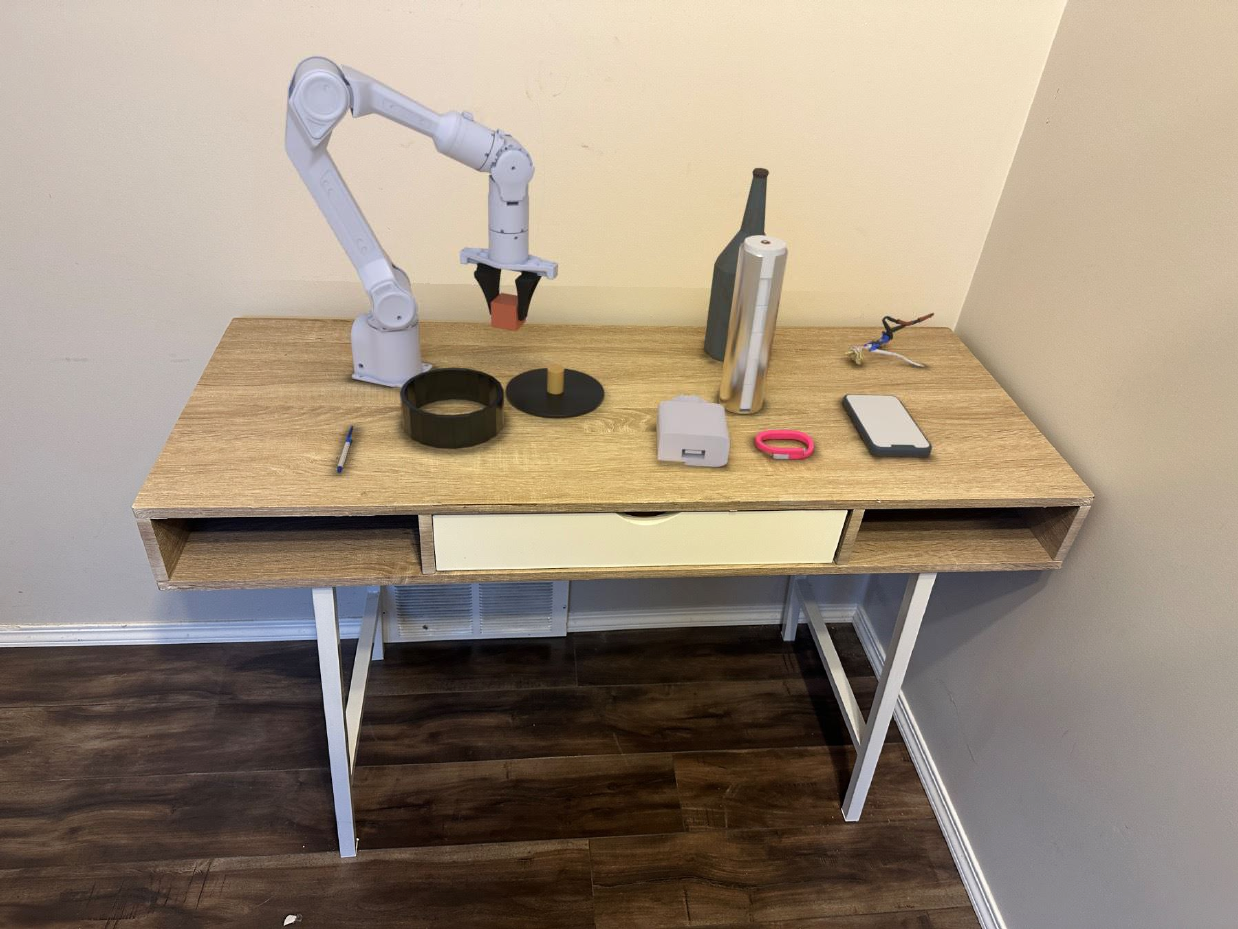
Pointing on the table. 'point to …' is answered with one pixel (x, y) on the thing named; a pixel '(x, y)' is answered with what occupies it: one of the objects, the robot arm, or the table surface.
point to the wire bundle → (885, 340)
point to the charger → (692, 431)
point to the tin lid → (554, 392)
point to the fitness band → (785, 452)
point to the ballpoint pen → (345, 450)
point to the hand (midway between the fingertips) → (508, 315)
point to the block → (505, 312)
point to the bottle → (733, 267)
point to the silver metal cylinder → (752, 323)
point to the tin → (452, 427)
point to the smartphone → (886, 425)
